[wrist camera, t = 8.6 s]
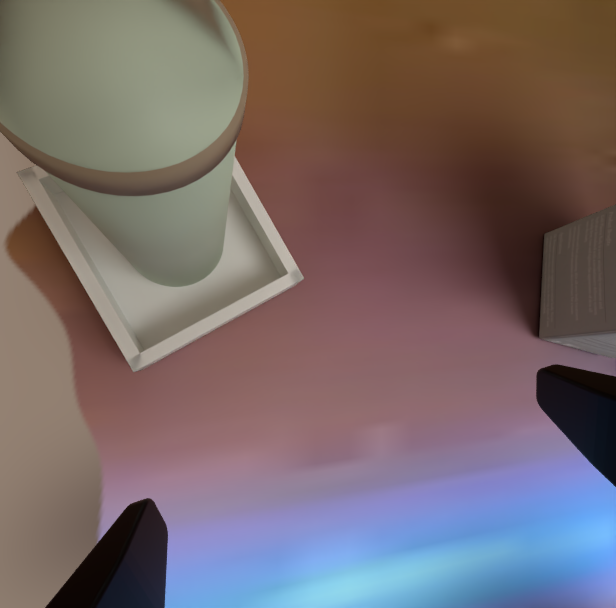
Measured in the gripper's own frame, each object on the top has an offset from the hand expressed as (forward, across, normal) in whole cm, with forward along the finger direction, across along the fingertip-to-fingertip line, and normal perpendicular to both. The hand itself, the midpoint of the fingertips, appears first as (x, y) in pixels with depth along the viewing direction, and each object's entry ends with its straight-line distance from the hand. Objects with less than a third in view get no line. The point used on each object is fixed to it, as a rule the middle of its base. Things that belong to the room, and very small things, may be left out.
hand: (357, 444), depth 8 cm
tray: (+14, +5, -4) cm, 15 cm away
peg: (+13, +5, -4) cm, 14 cm away
